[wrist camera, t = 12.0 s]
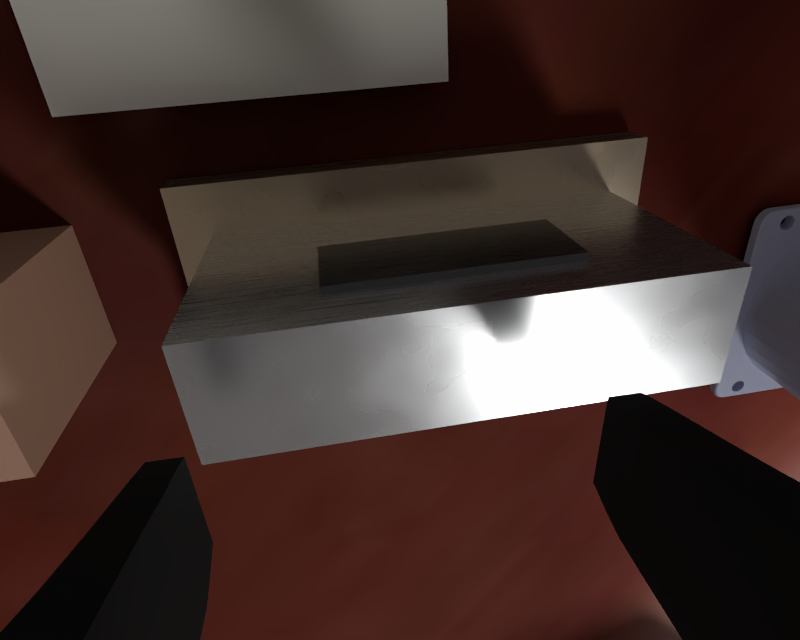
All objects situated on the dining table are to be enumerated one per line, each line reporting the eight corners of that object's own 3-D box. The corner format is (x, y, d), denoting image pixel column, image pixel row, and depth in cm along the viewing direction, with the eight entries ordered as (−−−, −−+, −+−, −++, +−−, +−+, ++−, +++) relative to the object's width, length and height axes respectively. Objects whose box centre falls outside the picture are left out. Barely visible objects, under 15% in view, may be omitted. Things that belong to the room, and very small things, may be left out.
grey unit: (629, 131, 17) (818, 189, 10) (606, 302, 19) (742, 425, 13) (168, 179, 15) (75, 280, 9) (217, 355, 18) (173, 521, 12)
